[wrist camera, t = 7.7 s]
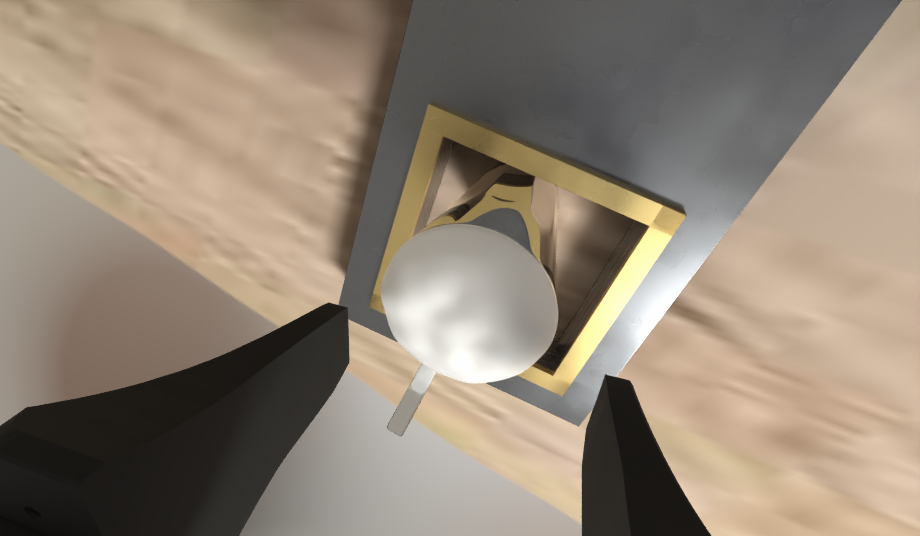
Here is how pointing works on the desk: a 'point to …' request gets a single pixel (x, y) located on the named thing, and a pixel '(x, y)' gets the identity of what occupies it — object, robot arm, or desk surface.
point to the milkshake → (477, 286)
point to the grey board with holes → (603, 140)
